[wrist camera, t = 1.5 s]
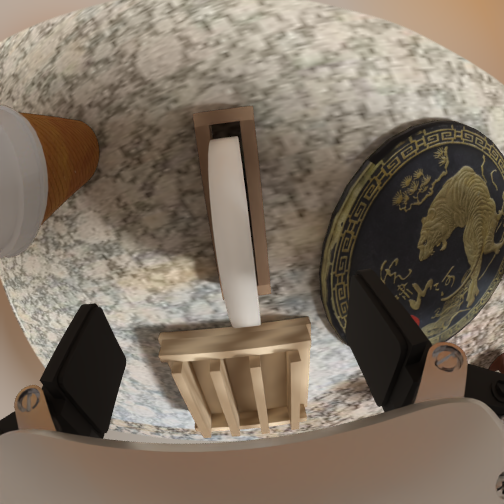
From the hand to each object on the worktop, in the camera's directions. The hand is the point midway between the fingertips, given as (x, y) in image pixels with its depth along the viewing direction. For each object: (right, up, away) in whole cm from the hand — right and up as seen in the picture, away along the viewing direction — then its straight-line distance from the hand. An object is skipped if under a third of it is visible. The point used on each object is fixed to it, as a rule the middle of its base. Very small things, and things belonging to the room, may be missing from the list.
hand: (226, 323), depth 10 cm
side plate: (0, +4, +8) cm, 9 cm away
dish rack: (0, -12, +23) cm, 26 cm away
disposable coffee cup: (-15, +11, +11) cm, 22 cm away
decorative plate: (+22, +2, +18) cm, 29 cm away
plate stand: (0, +7, +14) cm, 15 cm away
